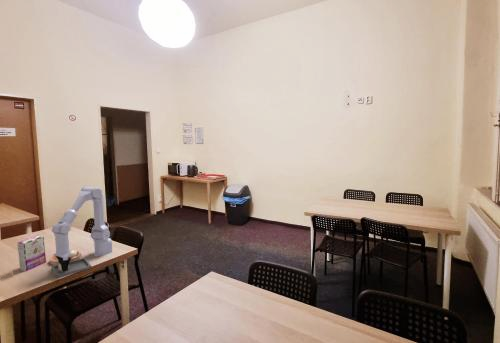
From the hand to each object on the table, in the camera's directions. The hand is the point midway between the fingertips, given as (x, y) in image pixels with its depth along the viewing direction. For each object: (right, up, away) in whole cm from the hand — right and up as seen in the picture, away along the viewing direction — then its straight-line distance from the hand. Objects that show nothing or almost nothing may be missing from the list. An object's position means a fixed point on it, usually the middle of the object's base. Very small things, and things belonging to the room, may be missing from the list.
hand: (63, 268), depth 142 cm
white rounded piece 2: (-6, +1, +16) cm, 17 cm away
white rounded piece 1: (0, -1, 0) cm, 1 cm away
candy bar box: (-21, -1, +5) cm, 21 cm away
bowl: (-8, 0, +14) cm, 16 cm away
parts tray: (+3, -1, +3) cm, 4 cm away
